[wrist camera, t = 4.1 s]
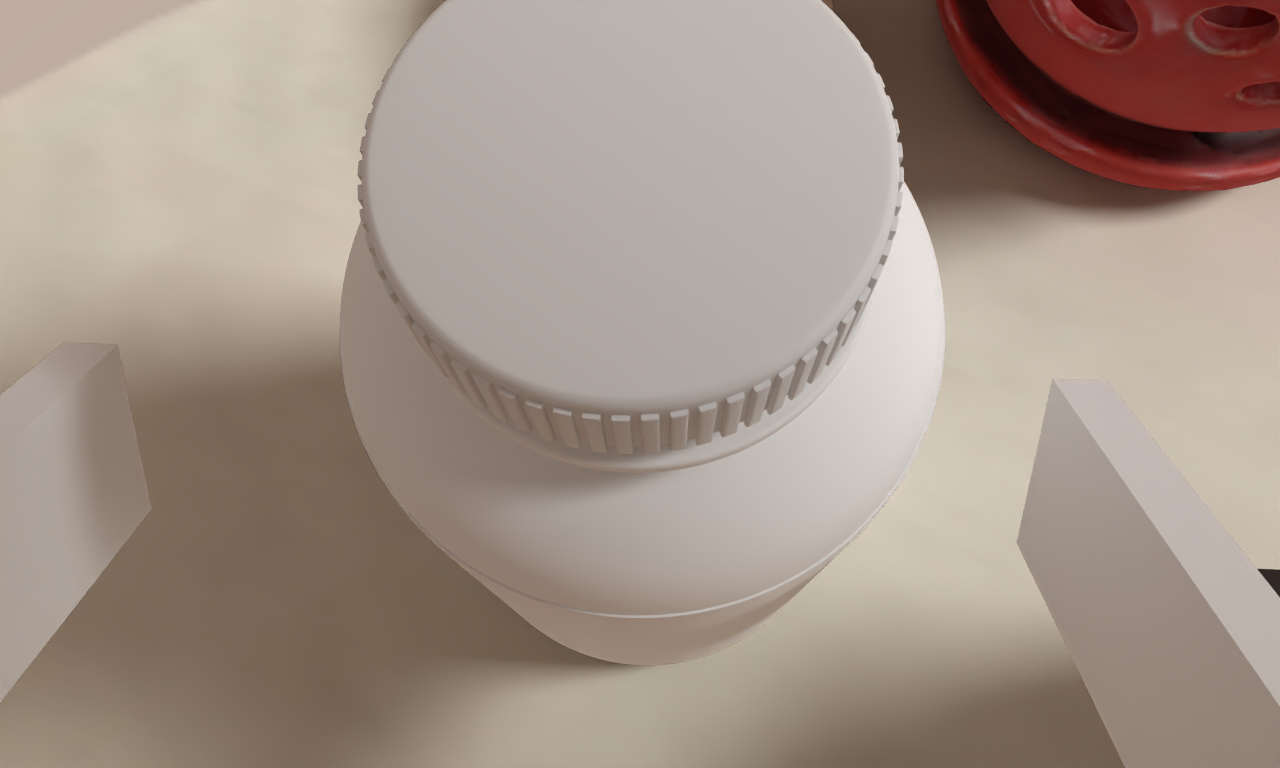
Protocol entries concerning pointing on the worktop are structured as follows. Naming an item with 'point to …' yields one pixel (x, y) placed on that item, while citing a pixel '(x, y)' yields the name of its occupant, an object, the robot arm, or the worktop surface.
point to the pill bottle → (639, 308)
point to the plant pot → (1132, 83)
